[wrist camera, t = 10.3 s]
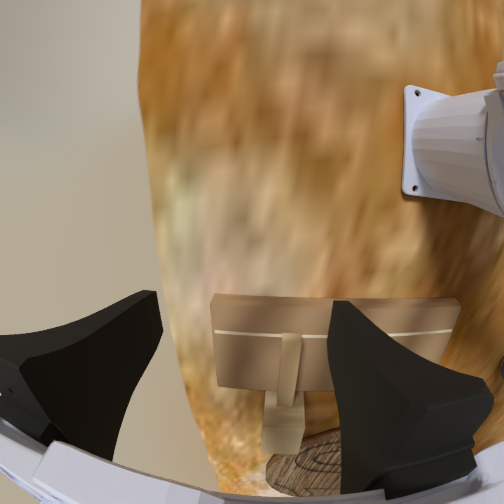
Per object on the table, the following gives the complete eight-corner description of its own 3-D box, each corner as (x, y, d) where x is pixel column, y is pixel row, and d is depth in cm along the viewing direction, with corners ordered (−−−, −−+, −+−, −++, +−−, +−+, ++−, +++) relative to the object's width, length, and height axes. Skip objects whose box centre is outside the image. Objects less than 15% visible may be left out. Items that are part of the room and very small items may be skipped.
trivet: (385, 484, 35) (387, 492, 33) (256, 488, 37) (255, 496, 35) (458, 408, 26) (462, 417, 24) (282, 416, 28) (281, 429, 26)
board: (453, 297, 20) (462, 306, 19) (424, 371, 24) (430, 382, 22) (214, 293, 22) (209, 304, 21) (221, 374, 25) (217, 386, 24)
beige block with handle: (312, 319, 22) (319, 365, 17) (296, 417, 27) (296, 458, 22) (269, 318, 23) (265, 364, 17) (264, 416, 27) (260, 457, 22)
